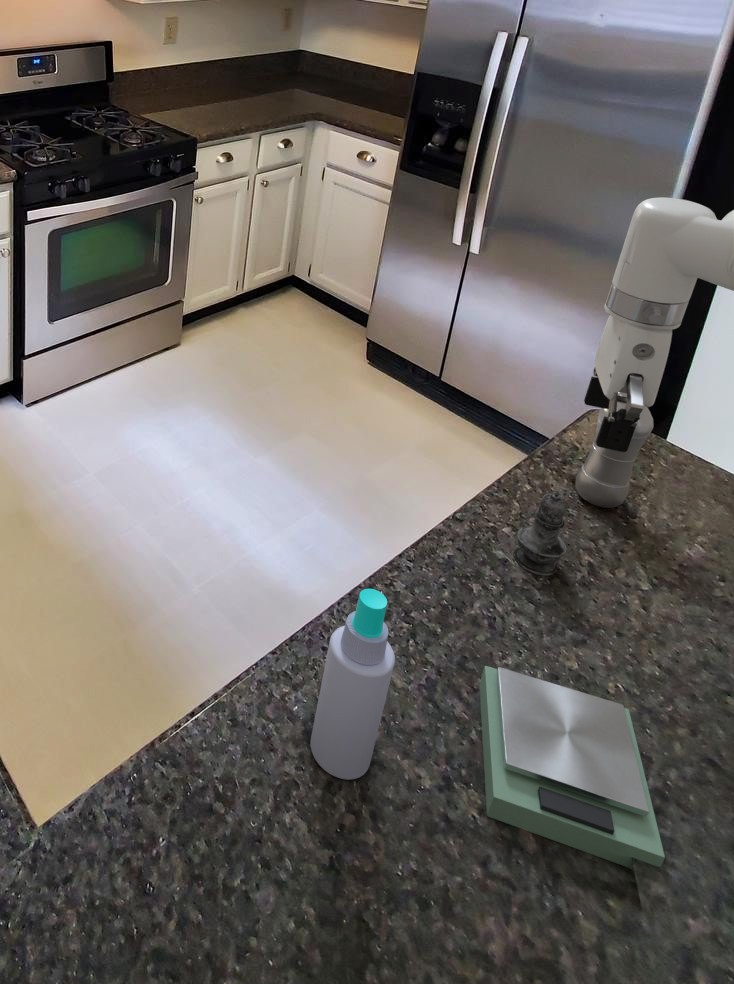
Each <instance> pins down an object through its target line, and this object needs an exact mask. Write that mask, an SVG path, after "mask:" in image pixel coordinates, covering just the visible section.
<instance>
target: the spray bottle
mask: <svg viewBox="0 0 734 984" xmlns="http://www.w3.org/2000/svg"><path fill="white" fill-rule="evenodd" d="M387 607H388V599H387V597H386V596H385V595H384V594H383V593H382V592H381V591H379V590H377V589H374V588H364V589H362V590H361V591H360V592H359V596H358V599H357V604H356V608H355V611H352V612H350V613H349V614H348V616H347V618H346V621H345V623H344V625H341V626H339V627H338V628H336V629H335V630H334V631H333V632H332V634H331V636H330V638H329V642H328V643H329V644H328V648H327V653H326V658H325V664H324V669H323V674H322V678H321V679H322V680H321V685H320V688H319V695H318V700H317V705H316V710H315V714H314V715H315V716H314V720H313V726H312V731H311V735H310V750H311V751H310V752H311V753H312V756H313V758H314V760H315V761H316V763H317V765H318V766H319V767H321V768H322V769H323V770H324V771H325V772H326V773H327V774H329V775H331V776H333V777H335V778H337V779H342V780H346V781H347V780H356V779H359V778H361V777H363V776H364V775H365V774H366V773H367V772H368V770H369V768H370V765H371V761H372V758H373V754H374V749H375V745H376V741H377V738H378V733H379V730H380V725H381V722H382V717H383V713H384V708H385V704H386V700H387V697H388V692H389V688H390V684H391V680H392V676H393V672H394V668H395V664H396V656H395V651H394V648H393V647H392V646H391V644H390V643H389V641H388V638H389V627H388V625H387V624H386V622H385V617H386V612H387Z"/></svg>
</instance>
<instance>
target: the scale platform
mask: <svg viewBox="0 0 734 984" xmlns="http://www.w3.org/2000/svg"><path fill="white" fill-rule="evenodd" d="M496 669H497V683H498V695H499V707H500V719H501V732H502V744H503V756H504V768H505V769H508V770H511V771H514V772H517V773H520V774H523V775H525V776H528V777H531V778H534V779H537V780H540V781H543V782H546V783H549V784H552V785H555V786H558V787H560V788H563V789H566V790H569V791H572V792H575V793H578V794H581V795H584V796H587V797H590V798H593V799H595V800H598V801H601V802H604V803H607V804H610V805H613V806H616V807H619V808H622V809H625V810H628V811H630V812H633V813H636V814H639V815H642V816H645V817H647V815H648V813H649V809H648V805H647V801H646V797H645V792H644V788H643V784H642V780H641V776H640V772H639V767H638V763H637V759H636V755H635V751H634V747H633V742H632V738H631V734H630V730H629V726H628V721H627V717H626V713H625V709H624V708H625V705H624V704H623V703H619V702H616V701H612V700H609V699H607V698H603V697H599V696H597V695H593V694H590V693H586V692H583V691H579V690H576V689H573V688H569V687H566V686H564V685H559V684H556V683H554V682H550V681H546V680H543V679H540V678H537V677H533V676H531V675H527V674H523V673H520V672H517V671H514V670H511V669H507V668H503V667H500V666H498V667H497V668H496Z"/></svg>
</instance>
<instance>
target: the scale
mask: <svg viewBox="0 0 734 984" xmlns="http://www.w3.org/2000/svg"><path fill="white" fill-rule="evenodd" d="M497 669H498V668H495V667H491V666H488V665H484V667H483V670H482V674H481V677H480V680H479V684H478V687H479V702H480V703H479V704H480V717H481V722H480V723H481V735H482V736H481V738H482V754H483V770H484V771H483V772H484V773H483V774H484V789H485V805H486V807H485V808H486V816H487V817H488V818H491V819H494V820H497V821H499V822H502V823H505V824H508V825H510V826H513V827H516V828H519V829H521V830H523V831H526V832H529V833H532V834H535V835H537V836H540V837H544V838H546V839H549V840H551V841H554V842H557V843H560V844H563V845H566V846H568V847H570V848H573V849H576V850H579V851H582V852H584V853H587V854H590V855H592V856H595V857H598V858H601V859H604V860H606V861H609V862H612V863H614V864H617V865H619V866H622V867H625V868H628V869H630V870H635V866H634V862H633V859H635V860H638V861H640V862H644V863H647V864H649V865H652V866H654V867H658V868H661V866H662V865H663V863H664V861H665V859H666V855H665V851H664V848H663V843H662V840H661V835H660V832H659V827H658V824H657V823H658V822H657V818H656V815H655V811H654V810H655V809H654V807H653V803H652V799H651V794H650V790H649V787H648V781H647V779H646V778H647V777H646V774H645V770H644V766H643V762H642V758H641V753H640V749H639V745H638V741H637V737H636V734H635V730H634V729H635V728H634V725H633V720H632V717H631V713H630V709H629V708H626V707H624V709H625V713H626V717H627V721H628V726H629V730H630V734H631V738H632V742H633V747H634V751H635V755H636V759H637V763H638V767H639V772H640V776H641V780H642V784H643V788H644V792H645V797H646V801H647V805H648V809H649V813H648V815H647V817H645V816H642V815H639V814H636V813H633V812H630V811H628V810H625V809H622V808H619V807H616V806H613V805H610V804H607V803H604V802H601V801H598V800H595V799H593V798H590V797H587V796H584V795H581V794H578V793H575V792H572V791H569V790H566V789H563V788H560V787H558V786H555V785H552V784H549V783H546V782H543V781H540V780H537V779H534V778H531V777H528V776H525V775H523V774H520V773H517V772H514V771H511V770H508V769H505V768H504V756H503V744H502V732H501V719H500V707H499V695H498V683H497Z"/></svg>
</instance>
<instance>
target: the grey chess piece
mask: <svg viewBox="0 0 734 984" xmlns="http://www.w3.org/2000/svg"><path fill="white" fill-rule="evenodd" d="M567 506H568V505H567V501H566V500H565V499H564V497H562V496H561V493H560V492H559V491H558V490H556V491H554V492H553V493H551V492H550V493H546V494H544V495H543V496H542V497H541V500H540V503H539V506H538V509H537V510H535V511H533V515H532V516H533V519H534V520H533V523H532V525H526V526H523V527H520V528H519V529H518V530H517V533H516V536H517V539H518V546H519V547H517V548H516V549H514V552H513V558H514V560H515V562H516V563H517V564H518V565H519V566H520V567H521V568H522V569H523V570H525V571H527V572H529V573H531V574H533V575H538V576H544V577H548V576H553V575H555V574H556V573H557V571H558V563H557V561H558V560H560V559H561V558H562V557H563V556H564V555H566V553H567V545H566V543H565V541H564V539H562V538H561V537H560V536H559V532H560V530H561V529H562V528H564V527H565V521H564V516H565V513H566V510H567Z"/></svg>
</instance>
